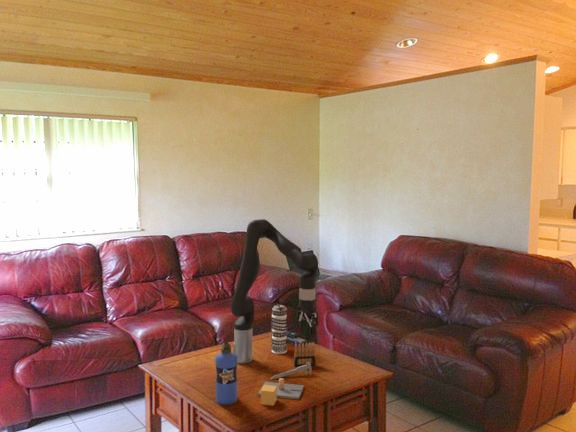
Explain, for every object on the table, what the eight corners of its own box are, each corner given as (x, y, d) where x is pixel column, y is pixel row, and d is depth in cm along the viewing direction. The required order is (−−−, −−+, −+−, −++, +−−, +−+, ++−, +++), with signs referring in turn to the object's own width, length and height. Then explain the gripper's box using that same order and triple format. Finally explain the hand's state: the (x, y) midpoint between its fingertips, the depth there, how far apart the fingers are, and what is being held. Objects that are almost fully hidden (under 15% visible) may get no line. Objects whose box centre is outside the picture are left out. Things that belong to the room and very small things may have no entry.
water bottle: (238, 404, 209) (238, 346, 206) (216, 406, 207) (215, 347, 204) (236, 394, 218) (236, 338, 215) (215, 396, 216) (214, 340, 213)
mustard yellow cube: (260, 404, 208) (260, 390, 208) (264, 398, 214) (264, 384, 213) (273, 405, 207) (273, 391, 207) (276, 399, 213) (276, 386, 212)
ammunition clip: (314, 364, 251) (314, 341, 250) (315, 365, 249) (315, 342, 248) (293, 365, 250) (293, 342, 249) (294, 366, 248) (294, 343, 247)
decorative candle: (269, 348, 273) (269, 304, 271) (285, 347, 275) (285, 303, 273) (272, 354, 264) (272, 308, 262) (289, 353, 266) (289, 307, 264)
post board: (258, 395, 216) (258, 383, 216) (265, 383, 228) (265, 372, 228) (298, 399, 213) (298, 386, 212) (303, 387, 224) (303, 375, 224)
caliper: (310, 373, 240) (311, 361, 240) (311, 374, 239) (311, 361, 239) (270, 379, 234) (270, 366, 234) (270, 379, 233) (270, 366, 233)
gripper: (292, 295, 232) (292, 329, 234) (308, 302, 220) (308, 337, 221) (305, 293, 236) (305, 326, 237) (322, 299, 224) (322, 334, 225)
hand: (307, 331), depth 229 cm, fingers open, 8 cm apart
